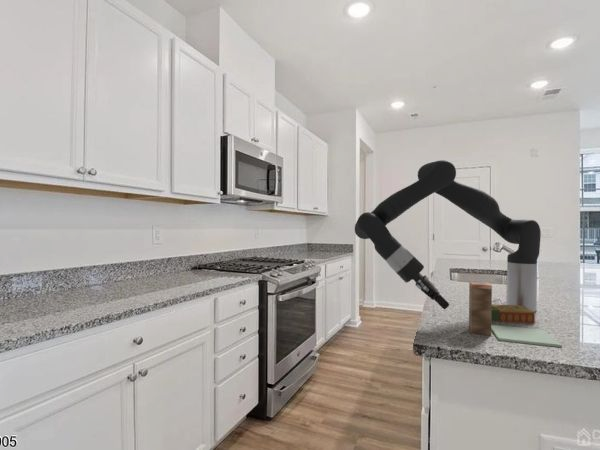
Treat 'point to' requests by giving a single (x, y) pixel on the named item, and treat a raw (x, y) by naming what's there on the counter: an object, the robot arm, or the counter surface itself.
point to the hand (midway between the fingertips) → (446, 306)
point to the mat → (524, 335)
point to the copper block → (480, 307)
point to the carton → (512, 313)
